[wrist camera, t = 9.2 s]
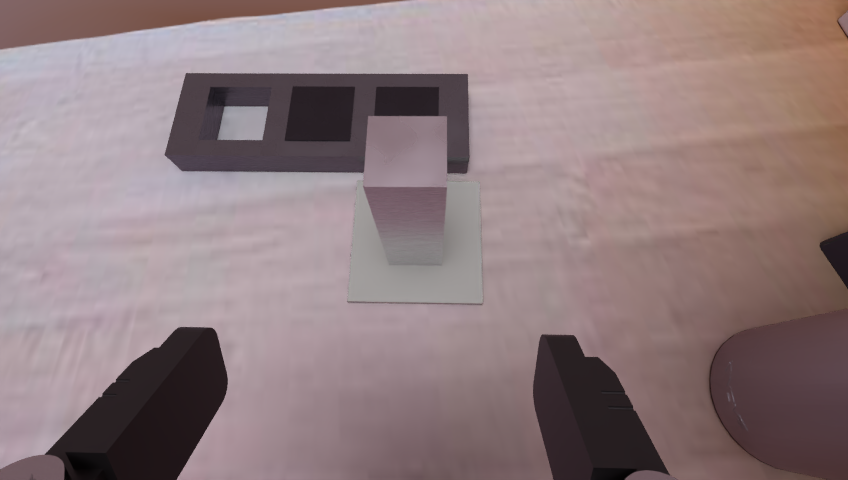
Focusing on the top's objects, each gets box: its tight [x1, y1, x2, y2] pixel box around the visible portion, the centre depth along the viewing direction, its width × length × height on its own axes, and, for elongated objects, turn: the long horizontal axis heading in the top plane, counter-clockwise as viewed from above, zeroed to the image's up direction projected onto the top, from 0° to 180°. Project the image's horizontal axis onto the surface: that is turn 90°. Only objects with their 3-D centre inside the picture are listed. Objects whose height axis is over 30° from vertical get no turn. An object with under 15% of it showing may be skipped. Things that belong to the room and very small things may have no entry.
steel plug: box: [363, 116, 447, 266], centre depth 27 cm, size 4×4×13 cm
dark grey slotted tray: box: [165, 73, 469, 173], centre depth 36 cm, size 24×8×3 cm, turn 89°
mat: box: [347, 181, 483, 304], centre depth 34 cm, size 10×10×1 cm
